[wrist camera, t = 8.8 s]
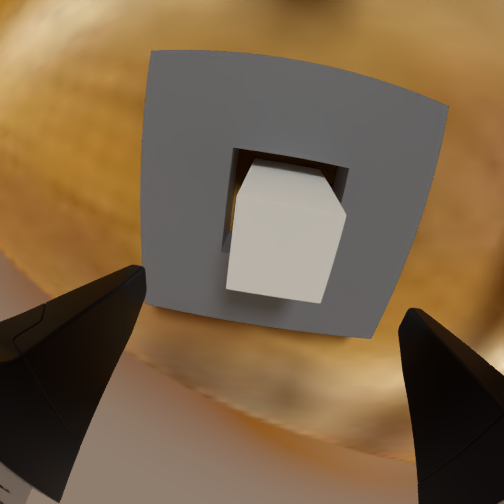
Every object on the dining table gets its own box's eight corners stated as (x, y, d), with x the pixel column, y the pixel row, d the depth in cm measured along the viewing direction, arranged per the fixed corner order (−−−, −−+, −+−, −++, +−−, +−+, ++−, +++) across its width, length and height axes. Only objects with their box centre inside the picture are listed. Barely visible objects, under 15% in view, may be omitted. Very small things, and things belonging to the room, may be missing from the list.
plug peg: (319, 169, 17) (346, 215, 10) (307, 228, 19) (320, 303, 12) (254, 158, 18) (236, 195, 10) (246, 218, 19) (226, 288, 12)
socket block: (425, 104, 15) (448, 106, 12) (362, 312, 22) (371, 338, 19) (170, 58, 15) (151, 50, 12) (159, 280, 22) (145, 303, 20)
